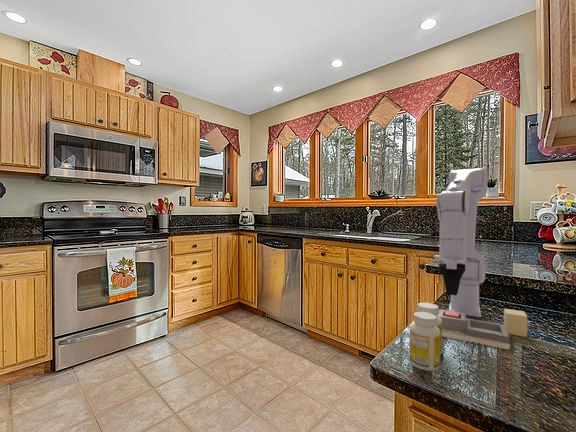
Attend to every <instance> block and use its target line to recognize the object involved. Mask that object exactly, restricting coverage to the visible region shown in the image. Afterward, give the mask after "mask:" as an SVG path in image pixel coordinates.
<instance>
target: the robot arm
mask: <svg viewBox="0 0 576 432" xmlns="http://www.w3.org/2000/svg"><path fill="white" fill-rule="evenodd" d="M488 180H489V178H488V169H487V168H486V167H485V166H484V167H478V168H465V169H464V168H463V169H456V170H455V169H451V170H450V172H449V173H448V185H447V187H446V189H445V190H444V191H441V193H438V194H437V197H436V210H437V220H438V221H439V242H438V243H439V246H438V247H439V254H435V255H433V259H437V260H438V259H439V260H440V261H442V262H441V263H439V265H438V269H439V271H440V273H441V275H442V278H443V281H444V287H445V292H446V294H447V295H450V302H449V307H448V311H452V312H459V313H465V316H470V317H476V318H481V317H482V313H481V312H482V311H481V308H480V284H483V283H484V282H485V279H486V260H485V258H484V256H483V254H481V253H480V252H478V251H477V250H475V246H476V245H475V244H476V229H477V227H476V226H477V214H478V213H477V212H478V209H477V208H478V205H479V202H480V200H481V199H483V198H485V197H486V196H487V192H488V182H489V181H488Z"/></svg>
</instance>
